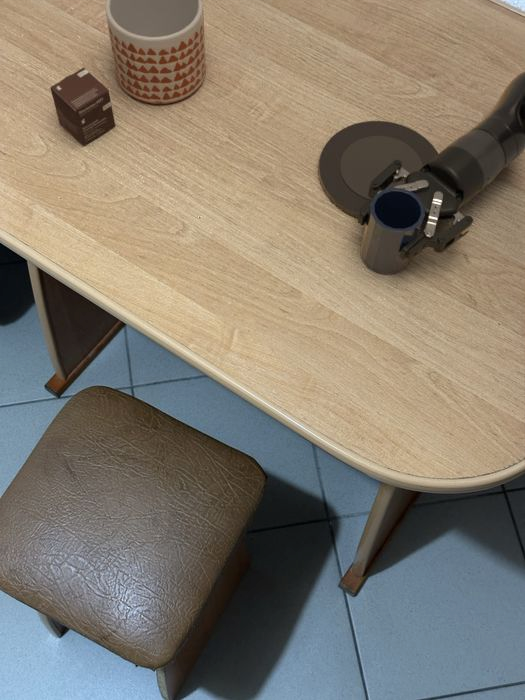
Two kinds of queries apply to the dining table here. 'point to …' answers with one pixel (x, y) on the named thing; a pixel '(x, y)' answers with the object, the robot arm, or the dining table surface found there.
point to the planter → (157, 47)
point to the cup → (390, 229)
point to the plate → (368, 160)
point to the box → (83, 106)
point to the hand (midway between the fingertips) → (381, 237)
